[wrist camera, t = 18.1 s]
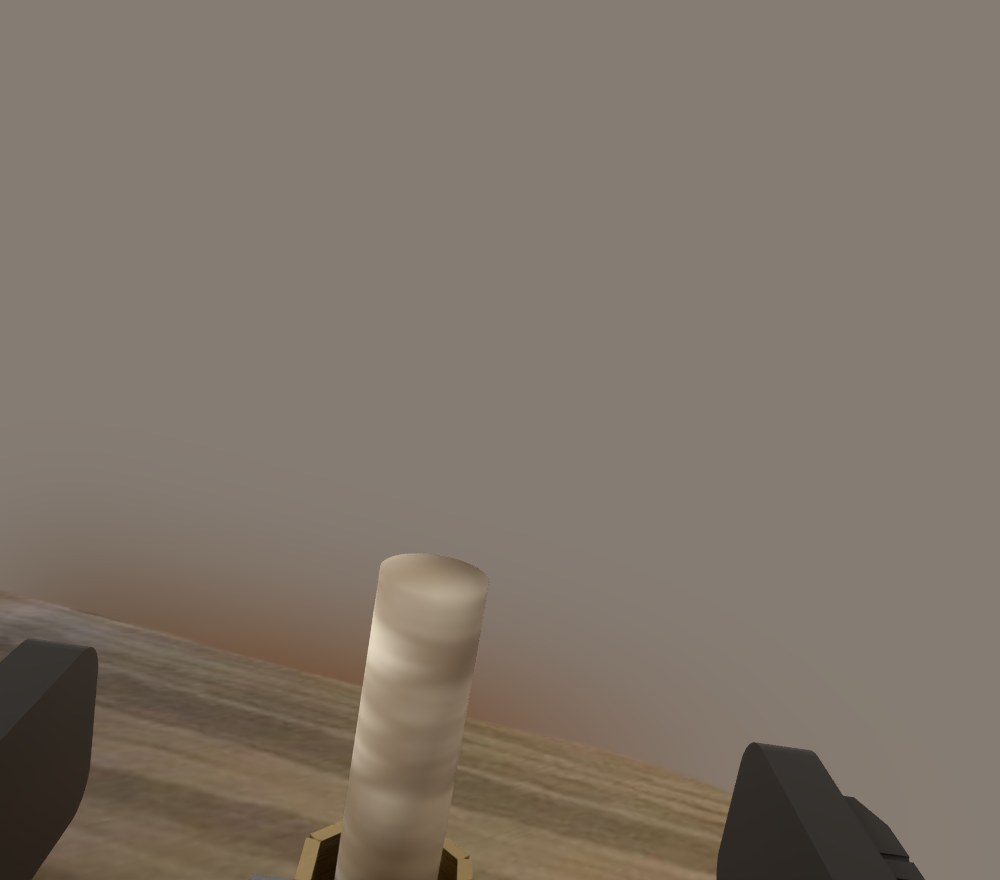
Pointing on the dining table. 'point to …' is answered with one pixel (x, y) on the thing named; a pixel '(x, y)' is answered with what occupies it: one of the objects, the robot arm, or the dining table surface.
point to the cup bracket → (324, 847)
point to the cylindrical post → (411, 717)
